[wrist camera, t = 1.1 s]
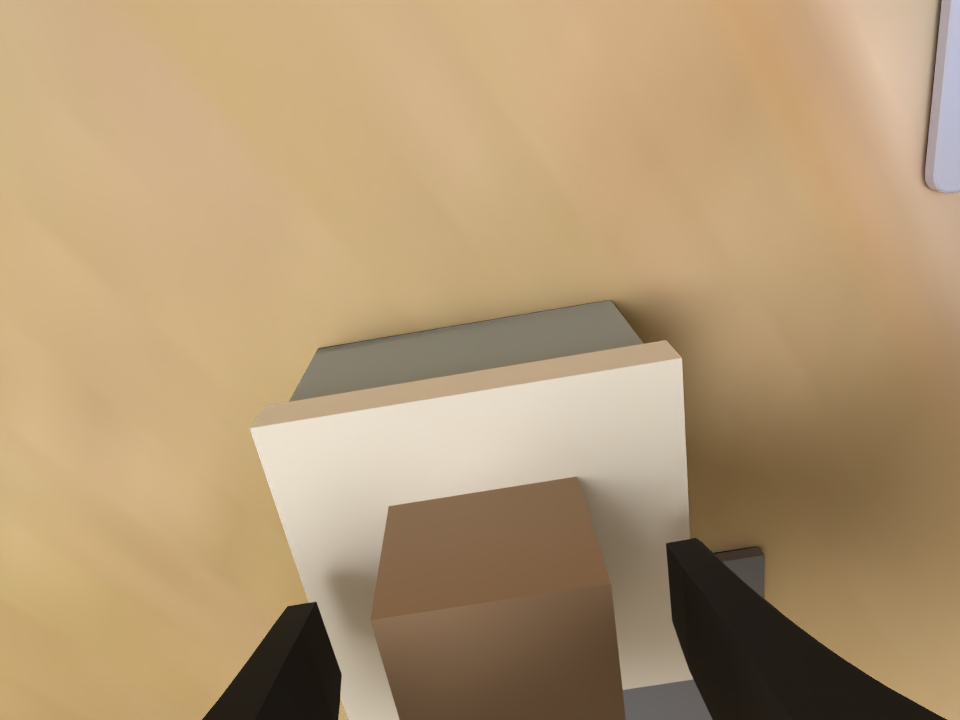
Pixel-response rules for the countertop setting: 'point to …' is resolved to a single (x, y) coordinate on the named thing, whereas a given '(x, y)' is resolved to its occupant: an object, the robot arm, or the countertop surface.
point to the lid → (491, 534)
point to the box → (465, 349)
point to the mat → (679, 705)
